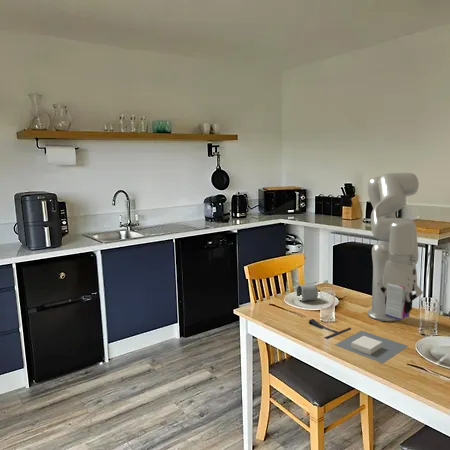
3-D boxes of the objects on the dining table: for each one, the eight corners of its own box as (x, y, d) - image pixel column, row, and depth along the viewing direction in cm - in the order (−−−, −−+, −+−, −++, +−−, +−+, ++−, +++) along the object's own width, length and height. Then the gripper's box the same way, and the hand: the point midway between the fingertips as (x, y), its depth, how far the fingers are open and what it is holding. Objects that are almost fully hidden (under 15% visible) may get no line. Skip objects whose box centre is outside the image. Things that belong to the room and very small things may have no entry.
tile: (363, 335, 144) (351, 342, 138) (382, 342, 138) (370, 349, 133) (363, 341, 144) (351, 348, 139) (381, 347, 139) (369, 355, 133)
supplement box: (401, 320, 134) (402, 287, 133) (385, 315, 139) (386, 283, 137) (410, 316, 138) (411, 284, 136) (394, 311, 142) (395, 280, 141)
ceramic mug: (318, 301, 187) (319, 285, 186) (302, 303, 185) (302, 287, 184) (308, 295, 197) (308, 280, 196) (293, 296, 195) (293, 281, 194)
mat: (361, 331, 153) (361, 330, 153) (408, 347, 140) (408, 345, 140) (334, 346, 142) (334, 344, 142) (382, 365, 128) (382, 363, 128)
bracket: (321, 320, 167) (321, 314, 166) (351, 332, 155) (352, 325, 154) (297, 329, 158) (297, 322, 158) (327, 342, 146) (327, 335, 146)
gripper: (431, 260, 131) (428, 313, 134) (381, 252, 144) (379, 300, 147) (421, 264, 126) (418, 319, 129) (371, 255, 139) (369, 305, 142)
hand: (398, 308), depth 138 cm, fingers closed on supplement box, 6 cm apart
